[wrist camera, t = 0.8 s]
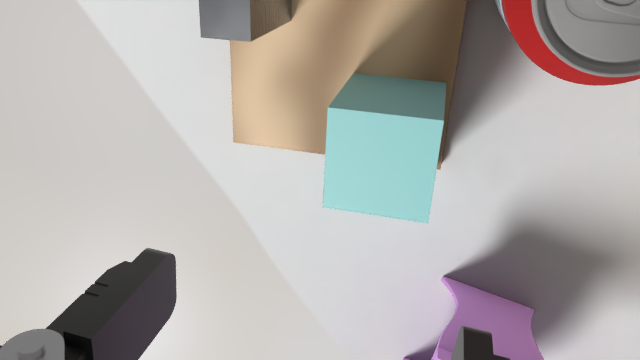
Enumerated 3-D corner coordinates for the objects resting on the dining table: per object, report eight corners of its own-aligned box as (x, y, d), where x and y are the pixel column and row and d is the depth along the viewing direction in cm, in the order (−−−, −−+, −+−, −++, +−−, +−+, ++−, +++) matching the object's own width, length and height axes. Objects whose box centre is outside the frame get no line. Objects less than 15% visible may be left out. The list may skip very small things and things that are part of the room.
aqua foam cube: (446, 82, 28) (444, 120, 23) (433, 168, 31) (428, 223, 25) (353, 73, 29) (327, 107, 24) (347, 157, 32) (322, 207, 26)
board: (475, -54, 26) (475, -53, 25) (440, 164, 31) (440, 169, 31) (232, -66, 28) (226, -66, 28) (238, 138, 34) (233, 142, 33)
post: (292, -26, 28) (249, -15, 22) (291, 20, 29) (250, 42, 23) (250, -28, 28) (197, -19, 23) (250, 17, 29) (201, 37, 24)
